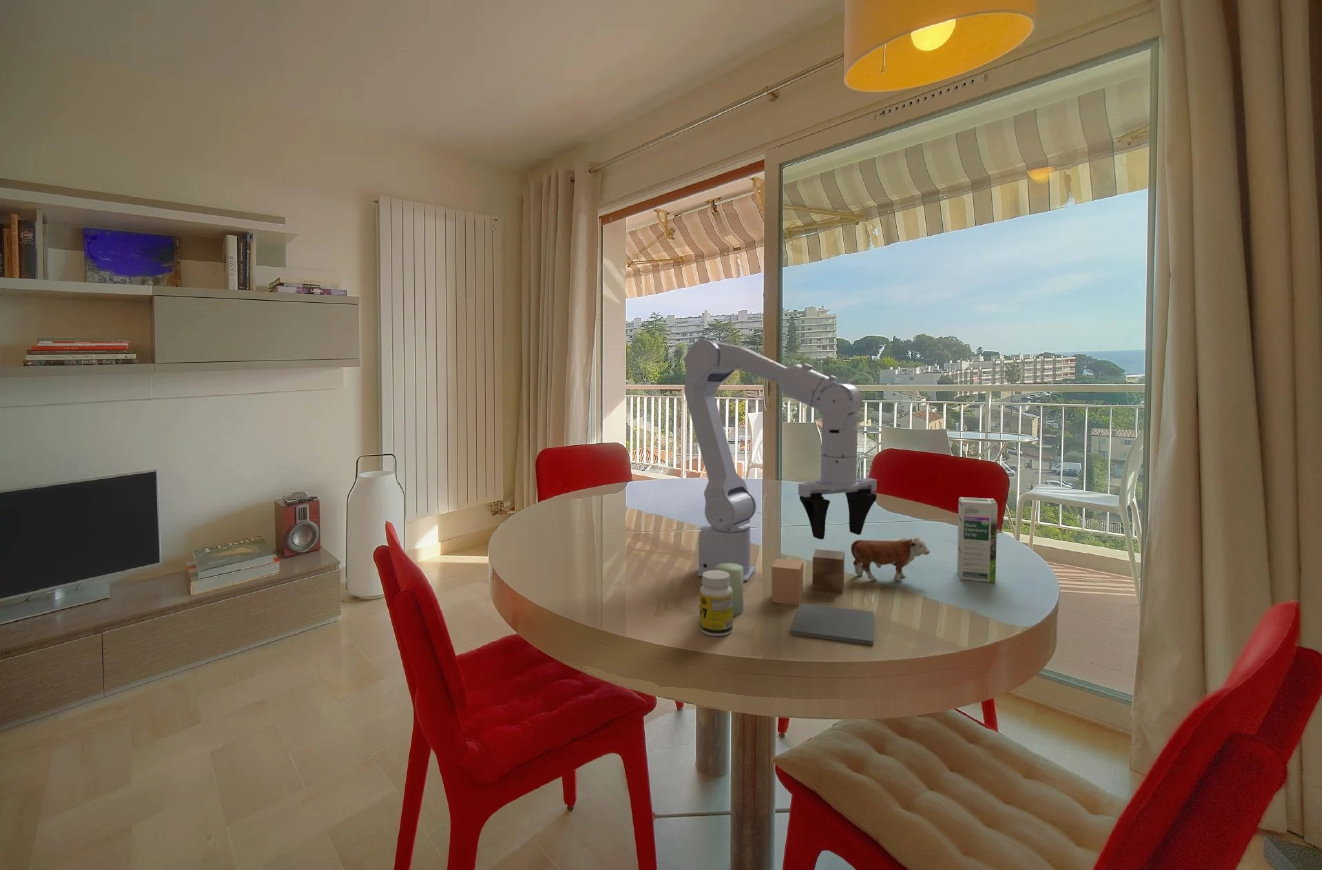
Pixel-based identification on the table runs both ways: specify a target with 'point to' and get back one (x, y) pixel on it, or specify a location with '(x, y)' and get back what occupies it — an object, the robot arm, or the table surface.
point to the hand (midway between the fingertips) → (837, 535)
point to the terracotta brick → (787, 582)
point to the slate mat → (834, 624)
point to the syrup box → (977, 539)
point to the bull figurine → (886, 554)
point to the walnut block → (828, 571)
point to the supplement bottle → (716, 603)
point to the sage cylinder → (734, 585)
